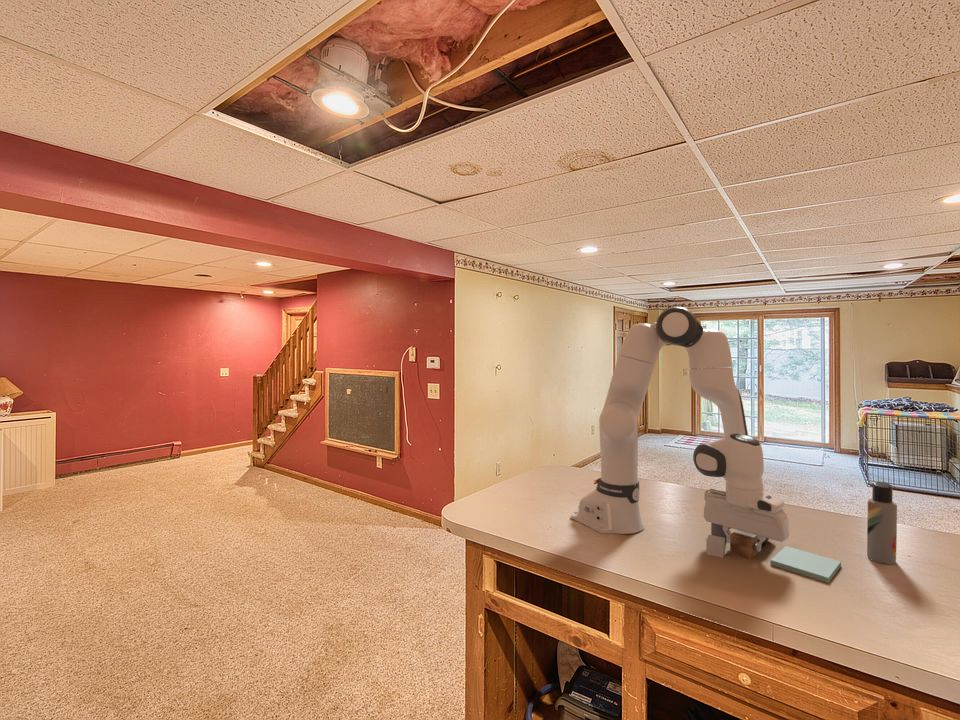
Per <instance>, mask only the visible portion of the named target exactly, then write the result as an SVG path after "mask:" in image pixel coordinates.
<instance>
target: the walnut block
mask: <svg viewBox="0 0 960 720" xmlns="http://www.w3.org/2000/svg"><path fill="white" fill-rule="evenodd" d="M755 542H756V543H758V535H754V534H751V533H747V532H743V531H740V530H736V529H735V531H733V532H731V534H730V543H729V545H730V546H729V553H730V554H733V555H737V556H740V557H742V558H746V559H749V560H752V559H753V558H754V557H755V556H756V555H757V554H758V552H757V551H754V550H753V544H754V543H755Z"/></svg>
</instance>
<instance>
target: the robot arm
mask: <svg viewBox="0 0 960 720" xmlns="http://www.w3.org/2000/svg"><path fill="white" fill-rule="evenodd" d="M727 336H728V335H726V333H724V332H723V331H721V330H719V329H714V328H704V327H703V326H702V324H701V323H700V322H699V320H698V319H697V318H696V316H695V314H694V313H693V312H692V311H691V310H689V309H688V308H686V307H682V306H673V307H671V306H670V307H669V308H666V309H664V310H663V311H661V313H660V314H659V315H658V317H657V319H656V322H654V323H645V322H640V323H639V322H638V323H635V324H633V325H631V327H629V329H628V331H627V333H626V335H625V337H624V340H623V342H622V344H621V346H620V349H619V353H618V356H617V360H616V363H615V367H614V370H613V373H612V375H611V379H610V384H609V388H608V392H607V394H606V397H605V402H604V405H603V408H602V411H601V413H600V415H599V419H598V420H599V421H598V422H599V423H598V425H599V427H598V428H599V448H600V477H599V478H597V479H596V480H593V485H596V484H597V485H596V486H595V487H596V488H594V489H593V490H592V491H590V492H589V493H587V494H586V495H584V496H582V498H581V499H580V501H579V504H578V509H576V510H574V511H573V512H572V513H571V519H572V520H574V521H576V522H578V523H580V524H582V525H585V526H587V527H588V528H590V529H592V530H594V531H597V532H598V533H600V534H604V535H605V534H621V535H622V534H623V535H625V534H626V535H627V534H636V533H639V532H641V531H643V530H644V524H643V520H642V517H641V516H642V515H641V510H640V504H639V502H640V501H639V500H640V481H639V470H638V469H639V468H638V467H639V466H638V465H639V462H638V461H639V457H638V456H639V453H638V451H639V450H638V448H639V447H638V446H639V445H638V444H639V443H638V442H639V441H638V440H639V439H638V435H639V434H638V433H639V432H638V431H639V430H638V427H639V425H638V423H639V420H638V419H639V416H640V413H641V409H642V406H643V403H644V402H645V401H644V400H645V398H646V395H647V393H648V390H649V386H650V383H651V380H652V377H653V373H654V370H655V367H656V364H657V360H658V357H659V354H660V351H661V350H662V348H663V347H665V346H677V347H678V346H680V347H683V348H684V349H685V350H686V352H687V354H688V355H687V356H688V366H689V367H688V368H689V381H690V385H691V388H692V390H693V391H694V392H695V393H696V394H697V395H698V396H700V397H701V398H703V399H706V400H708V402H709V401H710V402H711V403H713V404H714V405H715V406H716V407H717V408H718V409H719V412H720V417H721V422H722V428H723V438H722V439H719V440H714V441H708V442H703V443H701V444H699V445H697V446H695V449H694V451H693V454H692V460H693V465H694V466H695V469H696V470H697V471H698V472H699V473H700V474H701V475H704V476H706V477H709V478H710V477H713V478H724V480H725V491H723V490H718V489H714V488H709V489H706V490H705V492H704V494H703V495H704V497H703V498H704V506H703V518H704V520H705V521H706V522H708V523H710V524H711V523H715V524H718V525H722V526H723V531H724V533H725V534H726V536H727V542H726V543H728V544H730V534H732V532H731V529H733V530H735V531H736V530H740V531H743V532H747V533H751V534H754V535H758V539H759V540H760V541H759V542H758V543H756V542H755V543H754V544H753V550H754V551H757V553H760V552H762V547H761V544H762V543H763V542H764V541H765V540H766V538H769V540H772V541H777V542H780V543H783V542H785V541H786V540H787V539H789V538H790V537H789V536H790V525H789V518H788V515H787V513H786V512H785V510H784V507H785V500H784V499H782V498H780V497H777V496H776V495H775V494H772V493H770V492H768V491H766V490H764V484H763V475H764V453H763V451H764V450H763V447H762V444H761V442H760V441H759V440H758V439H757V438H756V437H753V436H750V435H749V433H748V428H747V422H746V415H745V408H744V404H743V400H742V396H741V393H740V391H739V389H738V387H737V386H736V382H735V378H734V372H733V360H732V353H731V347H730V343H729V340H728V337H727Z"/></svg>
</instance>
